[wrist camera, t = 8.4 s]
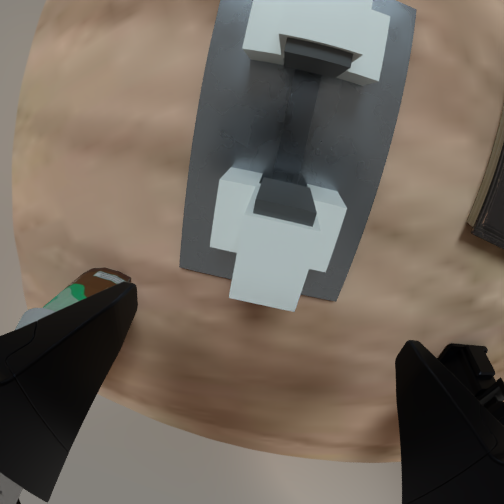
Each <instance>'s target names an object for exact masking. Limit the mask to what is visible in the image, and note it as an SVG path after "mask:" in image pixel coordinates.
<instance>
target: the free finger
mask: <svg viewBox="0 0 504 504" xmlns="http://www.w3.org/2000/svg"><path fill="white" fill-rule="evenodd" d="M261 179H262V173H258V172H253V171H248V170H243V169H238V168H233V167H231V168H230V169H229V170H228V171H227V172H226V173H225V174H224V175H223V176H222V177H221V178H220V179H219V186H218V192H217V199H216V205H215V212H214V219H213V226H212V233H211V240H210V247H213V248H217V249H222V250H226V251H230V252H235V253H237V255H236V261H235V266H234V272H233V277H232V283H231V288H230V294H229V298H232V299H237V300H241V301H245V302H250V303H255V304H259V305H264V306H269V307H273V308H278V309H283V310H288V311H293V312H295V309H296V306H297V303H298V300H299V297H300V294H301V291H302V288H303V286H304V283H305V280H306V277H307V274H308V271H309V269H312V270H317V271H321V272H326V270H327V267H328V264H329V261H330V259H331V256H332V253H333V250H334V247H335V244H336V241H337V238H338V235H339V232H340V229H341V226H342V223H343V220H344V217H345V214H346V210H347V207H346V205H345V204H344V202H343V200H342V198H341V197H340V195H339V193H338V191H334V190H330V189H326V188H322V187H318V186H314V185H310V184H307V186H306V187H305V186H301V185H297V184H292V183H288V182H284V181H279V180H275V179H270V178H266V177H263V180H262V183H261Z"/></svg>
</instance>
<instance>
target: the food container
mask: <svg viewBox="0 0 504 504" xmlns="http://www.w3.org/2000/svg"><path fill="white" fill-rule="evenodd" d="M130 279H131V278H130V277H129V276H127V275H125V274H123V273H121V272H119V271H115V270H112V269H108V268H92V269H91V270H89V271H87V272H85V273H83V274H82V275H81V276H80V277H78V278H77V279H76V280H75V281H74V282H72V283H71V284H70V285H69V286H67V287H66V288H65V289H64V290H63V291H61V292H60V293H59V294H58V295H57V296H56V297H54V298H53V299H52V300H51V301H50V302H49V303H47V304H46V305H45V306H44V307H43V308H33V309H29V310H28V311H26V312H25V313H24V315H23V316H22V318H21V320H20V321H19V323H18V325H17V327H16V329H15V330H17V329H19V328H21V327H23V326H26V325H28V324H30V323H32V322H34V321H38V320H39V319H41V318H43V317H45V316H47V315H50V314H52V313H54V312H56V311H58V310H60V309H63V308H65V307H67V306H69V305H71V304H74V303H76V302H78V301H80V300H82V299H85V298H87V297H89V296H91V295H94V294H96V293H98V292H100V291H103V290H105V289H107V288H109V287H112V286H114V285H116V284H118V283H121V282H123V281H126V282H130Z"/></svg>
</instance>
